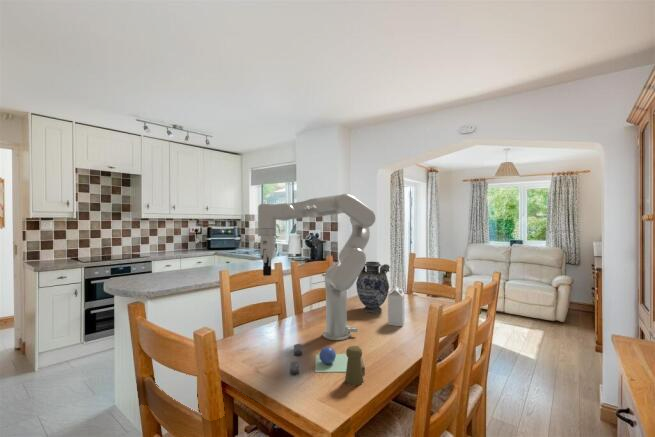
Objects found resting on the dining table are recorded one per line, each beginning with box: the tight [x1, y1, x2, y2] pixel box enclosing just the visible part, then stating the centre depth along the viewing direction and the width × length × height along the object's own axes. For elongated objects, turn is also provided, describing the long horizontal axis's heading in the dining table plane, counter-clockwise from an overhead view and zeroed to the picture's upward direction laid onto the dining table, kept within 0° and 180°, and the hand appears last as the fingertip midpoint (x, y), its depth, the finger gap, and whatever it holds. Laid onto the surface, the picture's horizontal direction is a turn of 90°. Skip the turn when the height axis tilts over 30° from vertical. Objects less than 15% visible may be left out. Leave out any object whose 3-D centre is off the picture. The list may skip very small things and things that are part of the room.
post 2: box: [289, 360, 300, 377], centre depth 106 cm, size 3×3×4 cm
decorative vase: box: [355, 261, 391, 314], centre depth 180 cm, size 21×19×28 cm
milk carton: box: [387, 285, 405, 327], centre depth 157 cm, size 7×7×19 cm
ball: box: [319, 346, 337, 364], centre depth 113 cm, size 6×6×6 cm
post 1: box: [293, 343, 303, 357], centre depth 121 cm, size 3×3×4 cm
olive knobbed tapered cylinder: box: [344, 345, 364, 387], centre depth 101 cm, size 6×6×11 cm
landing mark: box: [314, 353, 348, 373], centre depth 114 cm, size 14×14×1 cm
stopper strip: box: [357, 345, 366, 376], centre depth 114 cm, size 2×18×2 cm, turn 1°
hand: (267, 275), depth 133 cm, fingers closed
